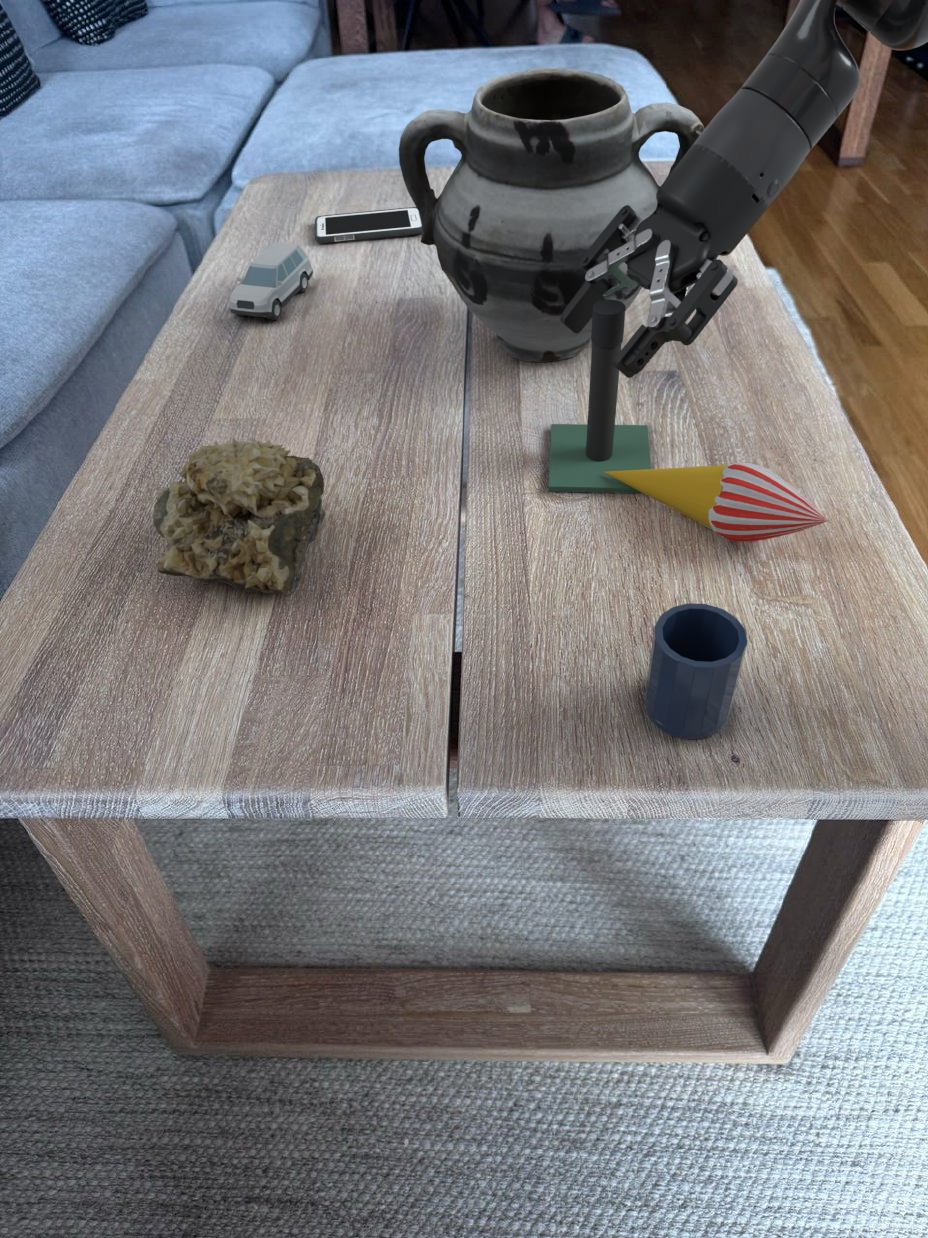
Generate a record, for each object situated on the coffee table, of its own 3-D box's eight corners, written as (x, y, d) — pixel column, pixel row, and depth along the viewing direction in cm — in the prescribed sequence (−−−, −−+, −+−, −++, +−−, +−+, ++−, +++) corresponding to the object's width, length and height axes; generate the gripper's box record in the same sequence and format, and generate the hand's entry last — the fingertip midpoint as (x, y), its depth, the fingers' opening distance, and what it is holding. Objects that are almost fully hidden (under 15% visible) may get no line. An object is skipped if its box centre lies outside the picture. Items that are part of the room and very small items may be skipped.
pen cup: (724, 677, 63) (741, 604, 58) (733, 741, 59) (752, 668, 54) (642, 674, 64) (652, 601, 59) (646, 737, 60) (657, 665, 55)
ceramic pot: (672, 295, 105) (702, 47, 88) (689, 399, 89) (730, 120, 72) (427, 296, 108) (409, 56, 91) (400, 397, 92) (372, 127, 74)
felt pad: (646, 430, 86) (647, 424, 85) (652, 493, 78) (653, 488, 78) (551, 429, 86) (551, 423, 86) (548, 491, 79) (548, 486, 79)
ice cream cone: (612, 509, 83) (830, 563, 71) (575, 504, 78) (802, 560, 66) (629, 441, 82) (853, 484, 70) (592, 431, 77) (827, 475, 65)
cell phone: (425, 234, 121) (424, 226, 121) (315, 244, 121) (314, 237, 120) (420, 213, 127) (419, 205, 126) (315, 223, 126) (314, 215, 125)
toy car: (227, 323, 105) (217, 282, 102) (276, 277, 114) (268, 237, 111) (271, 329, 104) (263, 286, 100) (318, 281, 113) (311, 241, 109)
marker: (619, 455, 82) (632, 307, 72) (596, 465, 81) (606, 316, 71) (601, 442, 83) (611, 295, 74) (578, 452, 82) (586, 304, 73)
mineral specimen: (123, 600, 72) (80, 498, 65) (193, 502, 81) (162, 404, 74) (295, 623, 69) (270, 519, 62) (348, 519, 78) (331, 418, 71)
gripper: (654, 118, 71) (524, 291, 76) (769, 171, 62) (613, 365, 67) (701, 176, 77) (577, 335, 82) (814, 233, 67) (666, 409, 72)
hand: (593, 348), depth 74 cm, fingers open, 8 cm apart
